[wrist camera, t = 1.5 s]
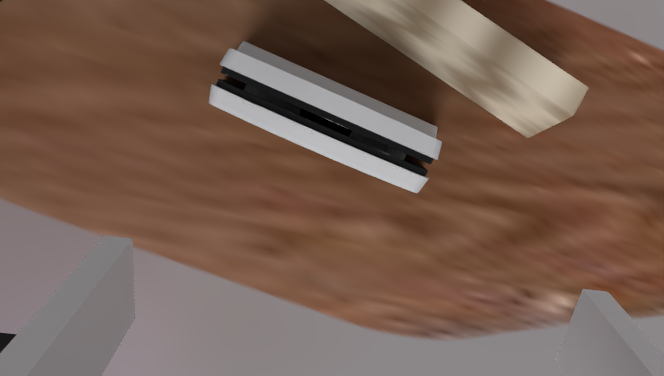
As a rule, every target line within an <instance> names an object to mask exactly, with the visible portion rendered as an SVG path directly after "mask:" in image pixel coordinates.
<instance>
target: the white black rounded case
mask: <svg viewBox="0 0 664 376" xmlns="http://www.w3.org/2000/svg"><path fill="white" fill-rule="evenodd" d="M220 65H222V66H223V68H222V71H221V73H223V74H225V75H227V76H230V77H232V78H234V79H236V80H239V81H241V82H243V83H245V84H246V86H245V88H243V87H241V86H239V85H236V84H234V83H232V82H230V81H227V80H221V79H218V82H217V84H211V91H210V97H209V103H210V104H211V105H213V106H215V107H217V108H219V109H222V110H224V111H226V112H228V113H230V114H232V115H234V116H236V117H239V118H241V119H243V120H245V121H247V122H249V123H252V124H254V125H256V126H258V127H260V128H263V129H265V130H267V131H269V132H271V133H274V134H276V135H278V136H280V137H282V138H285V139H287V140H289V141H292V142H294V143H296V144H298V145H301V146H303V147H305V148H308V149H310V150H312V151H315V152H317V153H319V154H321V155H324V156H326V157H328V158H331V159H333V160H335V161H338V162H340V163H343V164H345V165H347V166H350V167H352V168H355V169H357V170H359V171H362V172H364V173H367V174H369V175H372V176H374V177H376V178H379V179H381V180H384V181H386V182H389V183H391V184H394V185H396V186H399V187H401V188H404V189H406V190H409V191H411V192H415V193H418V192H419V191H420V190H421V188H422V187H423V186H424V184H425V183H426V182H427V180H428V179H429V178H428V177H427V176H426V174H427V172H428V171H427V170H426V169H425V168H424V167H423V166H422V165H419V164H417V163H415V162H412V161H410V160H408V159H405V156H406V154H408V155H410V156H412V157H415V158H417V159H419V160H422V161H424V162H426V163H428V164H431V163H432V161H433V159H436V160H438V156H439V152H440V148H441V145H442V142H441V141H439V140H437V139H436V134H437V128H438V127H436V126H434V125H432V124H430V123H427V122H425V121H423V120H421V119H418V118H416V117H414V116H412V115H409V114H407V113H405V112H403V111H400V110H398V109H396V108H394V107H391V106H389V105H387V104H385V103H382V102H380V101H378V100H375V99H373V98H371V97H369V96H366V95H364V94H362V93H360V92H357V91H355V90H353V89H351V88H348V87H346V86H344V85H342V84H339V83H337V82H335V81H333V80H330V79H328V78H326V77H324V76H321V75H319V74H317V73H315V72H312V71H310V70H308V69H306V68H303V67H301V66H299V65H297V64H294V63H292V62H290V61H288V60H285V59H283V58H281V57H279V56H276V55H274V54H272V53H270V52H267V51H265V50H263V49H261V48H258V47H256V46H254V45H252V44H249V43H247V42H245V41H243V42H242V44H241V45H240V47H239V48H238V49H237V51H236V50H234V49H231V48H229V50H228V51H227V53H226V54H225V56H224V58H223V59H222V61H221V62H220ZM301 109H304V110H307V111H309V112H311V113H313V114H316V115H318V116H320V117H322V118H325V119H327V120H329V121H332V122H334V123H336V124H338V125H341V126H343V127H345V128H348V129H350V130H352V132H351V134H350V136H346V135H344V134H342V133H339V132H337V131H335V130H333V129H330V128H328V127H326V126H323V125H321V124H319V123H317V122H314V121H312V120H310V119H307V118H305V117H303V116H301V115H300V112H301Z"/></svg>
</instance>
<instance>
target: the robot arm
mask: <svg viewBox="0 0 664 376" xmlns="http://www.w3.org/2000/svg"><path fill="white" fill-rule="evenodd" d="M0 1H1V0H0ZM134 319H135V299H134V269H133V239H132V238H123V237H114V236H104V237H103V238H102V239H101V240H100V242H99V243H98V244H97V245H96V246H95V247H94V248H93V249H92V251H91V252H90V253H89V254H88V255H87V256H86V257H85V259H84V260H83V261H82V262H81V263H80V264H79V265H78V266H77V268H76V269H75V270H74V271H73V272H72V273H71V274H70V275H69V276H68V278H67V279H66V280H65V281H64V282H63V283H62V284H61V286H60V287H59V288H58V289H57V290H56V291H55V292H54V293H53V294H52V296H51V297H50V298H49V299H48V300H47V301H46V302H45V304H44V305H43V306H42V307H41V308H40V309H39V310H38V311H37V312H36V314H35V315H34V316H33V317H32V318H31V319H30V320H29V322H28V323H27V324H26V325H25V326H24V327H23V328H22V329H21V331H20V332H19V333H18V334H7V333H0V376H101V375H102V374H103V372H104V370H105V369H106V367H107V365H108V364H109V362H110V360H111V358H112V357H113V355H114V353H115V352H116V350H117V348H118V346H119V345H120V343H121V341H122V339H123V338H124V336H125V334H126V333H127V331H128V329H129V328H130V326H131V324H132V322H133V321H134ZM555 363H556V365H557V367H558V369H559V370H560V372H561V374H562V375H563V376H664V355H663V354H662V353H661V351H660V350H659V349H658V348H657V347H656V346H655V345H654V344H653V342H652V341H651V340H650V339H649V338H648V337H647V336H646V335H645V333H644V332H643V331H642V330H641V329H640V328H639V327H638V325H637V324H636V323H635V322H634V321H633V320H632V319H631V317H630V316H629V315H628V314H627V313H626V312H625V311H624V310H623V308H622V307H621V306H620V305H619V304H618V303H617V302H616V300H615V299H614V298H613V297H612V296H611V295H610V294H609V293H608V292H605V291H596V290H587V289H583V290H582V292H581V295H580V298H579V300H578V303H577V305H576V308H575V310H574V313H573V316H572V318H571V321H570V323H569V326H568V328H567V331H566V334H565V336H564V339H563V341H562V344H561V346H560V349H559V351H558V354H557V357H556V359H555Z"/></svg>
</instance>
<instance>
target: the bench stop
mask: <svg viewBox="0 0 664 376" xmlns="http://www.w3.org/2000/svg"><path fill="white" fill-rule="evenodd" d="M325 1H326V2H327V3H329V4H330V5H332V6H333V7H335V8H336V9H338V10H339V11H341V12H342V13H344V14H345V15H347V16H348V17H350V18H351V19H353V20H354V21H355V22H357V23H358V24H360V25H361V26H363V27H364V28H366V29H367V30H369V31H370V32H372V33H373V34H375V35H376V36H378V37H379V38H381V39H382V40H384V41H385V42H386V43H388V44H389V45H391V46H392V47H394V48H395V49H397V50H398V51H400V52H401V53H403V54H404V55H406V56H407V57H409V58H410V59H412V60H413V61H414V62H416V63H417V64H419V65H420V66H422V67H423V68H425V69H426V70H428V71H429V72H431V73H432V74H434V75H435V76H437V77H438V78H440V79H441V80H442V81H444V82H445V83H447V84H448V85H450V86H451V87H453V88H454V89H456V90H457V91H459V92H460V93H462V94H463V95H465V96H466V97H468V98H469V99H471V100H472V101H473V102H475V103H476V104H478V105H479V106H481V107H482V108H484V109H485V110H487V111H488V112H490V113H491V114H493V115H494V116H496V117H497V118H499V119H500V120H501V121H503V122H504V123H506V124H507V125H509V126H510V127H512V128H513V129H515V130H516V131H518V132H519V133H521V134H522V135H524V136H525V137H527V138H529V137H531V136H533V135H535V134H537V133H539V132H541V131H543V130H545V129H547V128H549V127H551V126H554V125H556V124H558V123H560V122H562V121H564V120H566V119H568V118H570V117H572V116H573V115H574V114H575V112H576V110H577V108H578V106H579V105H580V103H581V101H582V99H583V97H584V95H585V94H586V92H587V90H588V87H587V86H585V85H584V84H582V83H581V82H579V81H578V80H577V79H575V78H574V77H572V76H571V75H569V74H568V73H566V72H565V71H563V70H562V69H560V68H559V67H558V66H556V65H555V64H553V63H552V62H550V61H549V60H547V59H546V58H544V57H543V56H541V55H540V54H539V53H537V52H536V51H534V50H533V49H531V48H530V47H528V46H527V45H525V44H524V43H522V42H521V41H520V40H518V39H517V38H515V37H514V36H512V35H511V34H509V33H508V32H506V31H505V30H503V29H502V28H501V27H499V26H498V25H496V24H495V23H493V22H492V21H490V20H489V19H487V18H486V17H484V16H483V15H482V14H480V13H479V12H477V11H476V10H474V9H473V8H471V7H470V6H468V5H467V4H465V3H464V2H462V1H461V0H325Z"/></svg>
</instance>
